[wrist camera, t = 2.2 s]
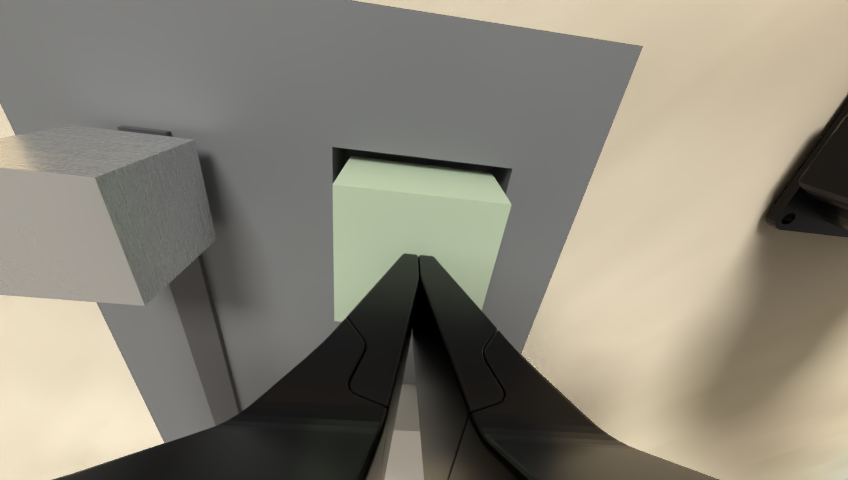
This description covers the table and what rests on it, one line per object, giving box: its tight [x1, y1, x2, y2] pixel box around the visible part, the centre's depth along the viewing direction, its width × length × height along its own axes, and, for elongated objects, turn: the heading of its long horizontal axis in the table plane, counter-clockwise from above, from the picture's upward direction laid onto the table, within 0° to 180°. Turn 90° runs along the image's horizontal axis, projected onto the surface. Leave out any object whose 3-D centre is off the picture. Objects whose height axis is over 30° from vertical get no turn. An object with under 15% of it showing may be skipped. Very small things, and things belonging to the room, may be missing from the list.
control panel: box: [0, 0, 643, 443], centre depth 14 cm, size 16×22×3 cm
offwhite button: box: [384, 384, 424, 480], centre depth 15 cm, size 4×4×2 cm
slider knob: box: [0, 125, 217, 306], centre depth 8 cm, size 3×3×3 cm
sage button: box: [333, 156, 512, 322], centre depth 10 cm, size 4×4×2 cm
